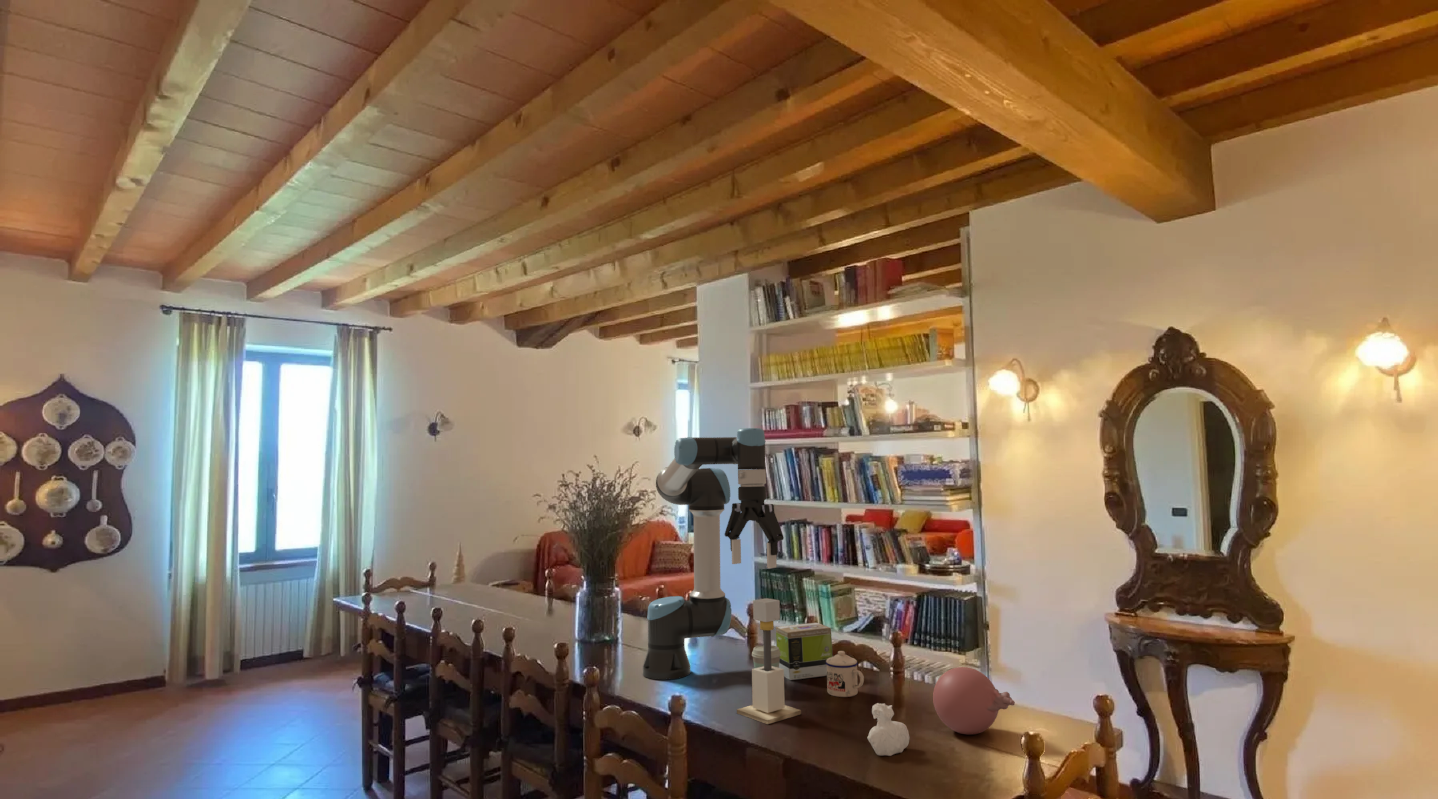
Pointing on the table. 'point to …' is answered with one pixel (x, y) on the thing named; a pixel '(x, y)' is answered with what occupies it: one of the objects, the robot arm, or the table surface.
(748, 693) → the table surface
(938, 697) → the balloon
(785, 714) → the tan slab base
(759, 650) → the coffee cup
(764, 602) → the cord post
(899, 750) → the bust
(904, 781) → the table surface
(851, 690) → the teacup with lid
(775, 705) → the marker sleeve
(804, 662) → the tea box
